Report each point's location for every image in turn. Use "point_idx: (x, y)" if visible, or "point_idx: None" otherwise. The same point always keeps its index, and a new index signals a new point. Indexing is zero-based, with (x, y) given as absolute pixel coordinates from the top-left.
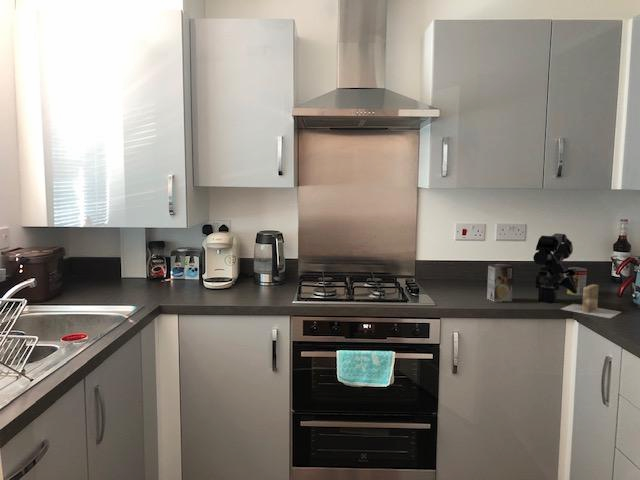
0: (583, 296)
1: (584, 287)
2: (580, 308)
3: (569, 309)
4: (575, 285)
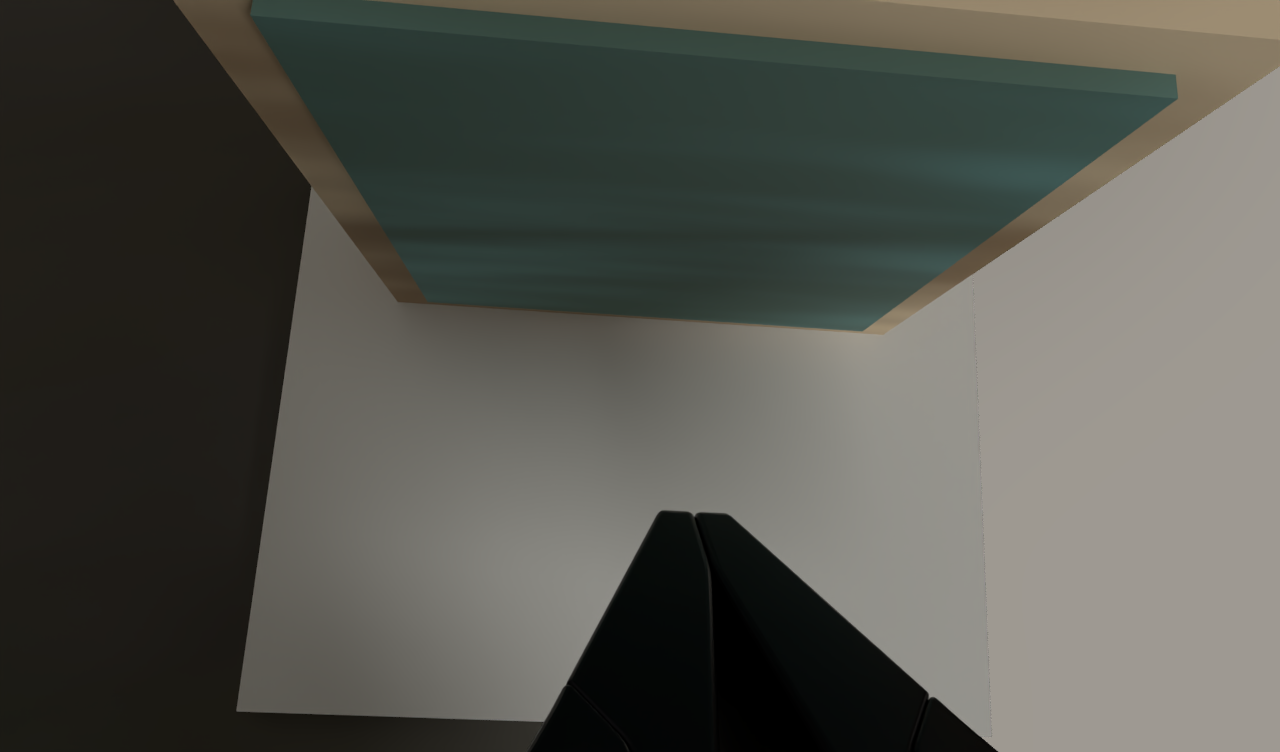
0: (1063, 194)
1: (1234, 21)
2: (626, 436)
3: (883, 575)
4: (603, 638)
